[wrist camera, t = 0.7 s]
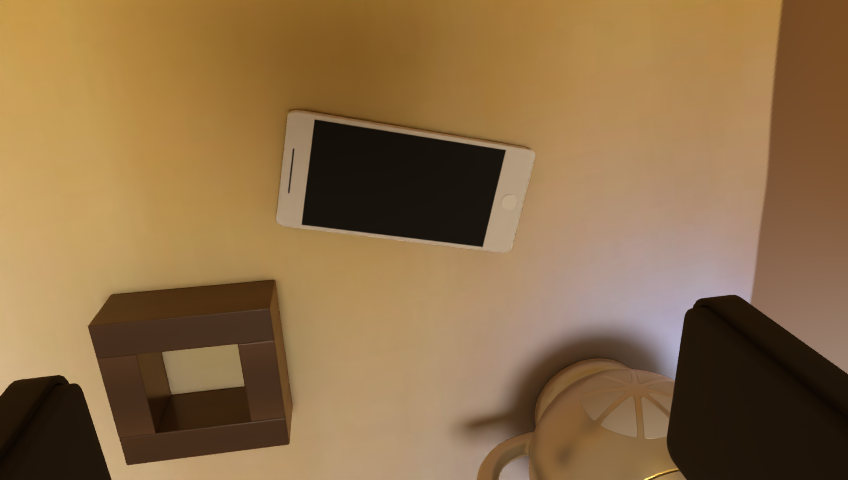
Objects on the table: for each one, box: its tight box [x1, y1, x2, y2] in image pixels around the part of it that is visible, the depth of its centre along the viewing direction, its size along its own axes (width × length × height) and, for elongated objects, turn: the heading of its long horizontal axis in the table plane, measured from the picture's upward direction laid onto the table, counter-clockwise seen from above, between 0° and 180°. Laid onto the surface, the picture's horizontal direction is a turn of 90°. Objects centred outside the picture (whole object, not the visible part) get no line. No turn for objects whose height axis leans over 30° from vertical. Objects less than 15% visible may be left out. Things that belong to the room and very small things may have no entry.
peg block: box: [88, 280, 292, 465], centre depth 38 cm, size 10×10×4 cm
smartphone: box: [276, 110, 536, 253], centre depth 37 cm, size 7×16×1 cm, turn 79°
